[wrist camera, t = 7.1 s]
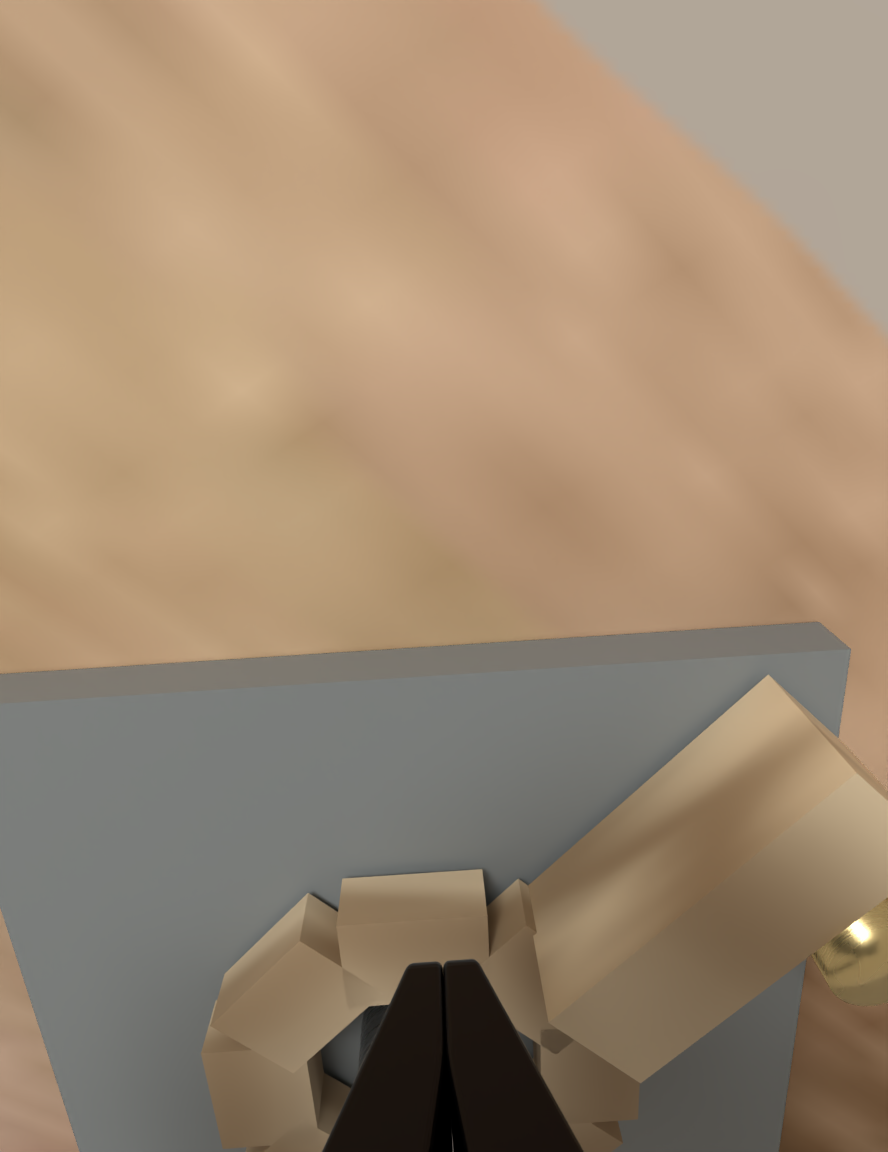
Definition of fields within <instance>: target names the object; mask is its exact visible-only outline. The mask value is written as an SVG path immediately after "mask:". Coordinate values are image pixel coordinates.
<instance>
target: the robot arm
mask: <svg viewBox="0 0 888 1152" xmlns="http://www.w3.org/2000/svg"><path fill="white" fill-rule="evenodd" d="M452 1138H453V1142H452ZM453 1151H454V1152H584V1151H583V1149H582V1147H581V1145H580V1143H579V1142H578V1140H577V1138H576V1136H575V1134H574V1133H573V1131H572V1129H571V1127H570V1125H569V1124H568V1122H567V1120H566V1118H565V1116H564V1115H563V1113H562V1111H561V1109H560V1107H559V1106H558V1104H557V1102H556V1100H555V1098H554V1097H553V1095H552V1093H551V1091H550V1089H549V1088H548V1086H547V1084H546V1082H545V1080H544V1079H543V1077H542V1075H541V1073H540V1071H539V1070H538V1068H537V1066H536V1064H535V1062H534V1061H533V1059H532V1057H531V1055H530V1053H529V1052H528V1050H527V1048H526V1046H525V1044H524V1043H523V1041H522V1039H521V1037H520V1035H519V1034H518V1032H517V1030H516V1028H515V1026H514V1025H513V1023H512V1021H511V1019H510V1017H509V1016H508V1014H507V1012H506V1010H505V1008H504V1007H503V1005H502V1003H501V1001H500V999H499V998H498V996H497V994H496V992H495V990H494V989H493V987H492V985H491V983H490V981H489V980H488V978H487V976H486V974H485V972H484V971H483V969H482V967H481V965H480V964H479V963H478V962H477V961H476V960H475V959H463V960H449V961H446V962H445V963H444V965H443V967H442V965H441V963H439V962H437V961H434V962H420V963H411V964H410V965H408V966H407V968H406V969H405V971H404V973H403V975H402V978H401V980H400V982H399V984H398V986H397V989H396V991H395V993H394V995H393V997H392V999H391V1002H390V1004H389V1006H388V1008H387V1010H386V1013H385V1015H384V1017H383V1019H382V1021H381V1024H380V1026H379V1028H378V1030H377V1032H376V1034H375V1037H374V1039H373V1041H372V1043H371V1045H370V1048H369V1050H368V1052H367V1054H366V1056H365V1059H364V1061H363V1063H362V1065H361V1067H360V1069H359V1072H358V1074H357V1076H356V1078H355V1080H354V1083H353V1085H352V1087H351V1089H350V1091H349V1094H348V1096H347V1098H346V1100H345V1102H344V1104H343V1107H342V1109H341V1111H340V1113H339V1115H338V1118H337V1120H336V1122H335V1124H334V1126H333V1129H332V1131H331V1133H330V1135H329V1137H328V1139H327V1142H326V1144H325V1146H324V1148H323V1150H322V1152H453Z"/></svg>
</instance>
